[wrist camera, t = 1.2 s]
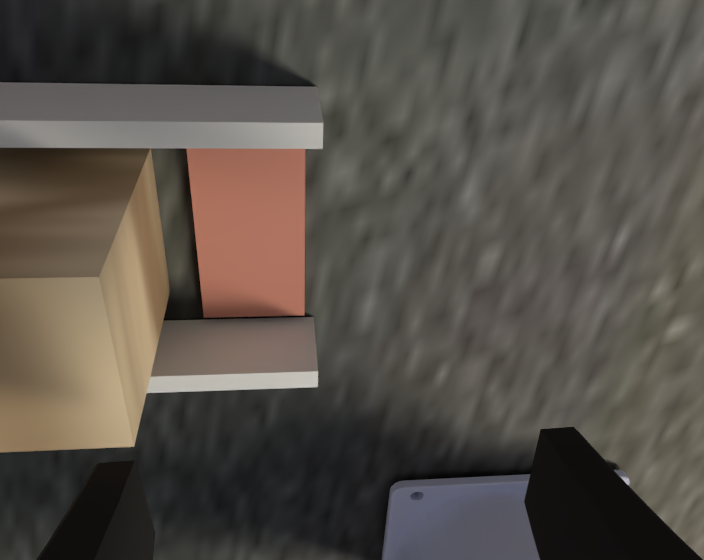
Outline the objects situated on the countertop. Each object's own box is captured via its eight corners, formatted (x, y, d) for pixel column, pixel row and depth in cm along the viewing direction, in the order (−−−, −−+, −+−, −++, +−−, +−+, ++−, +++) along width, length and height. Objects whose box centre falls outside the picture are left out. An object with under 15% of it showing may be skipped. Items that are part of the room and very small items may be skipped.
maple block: (151, 147, 17) (98, 277, 12) (170, 290, 19) (134, 446, 14) (-34, 146, 16) (-168, 281, 11) (10, 293, 19) (-84, 455, 14)
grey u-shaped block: (317, 86, 16) (323, 122, 14) (313, 332, 21) (317, 386, 19) (-254, 78, 15) (-338, 117, 13) (-129, 343, 19) (-177, 404, 17)
